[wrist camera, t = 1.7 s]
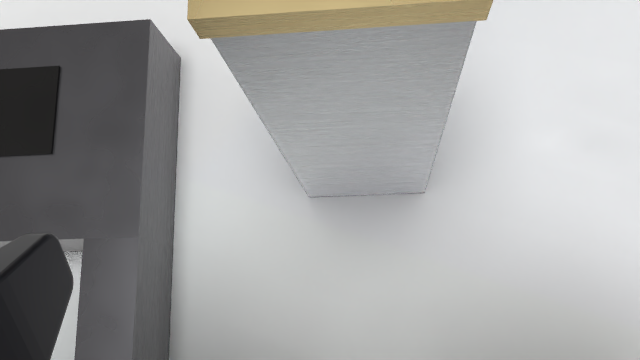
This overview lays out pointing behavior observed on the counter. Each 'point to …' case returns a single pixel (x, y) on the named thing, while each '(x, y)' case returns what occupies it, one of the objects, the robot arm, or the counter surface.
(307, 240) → the counter surface
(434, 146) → the square bar
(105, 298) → the rack rail
